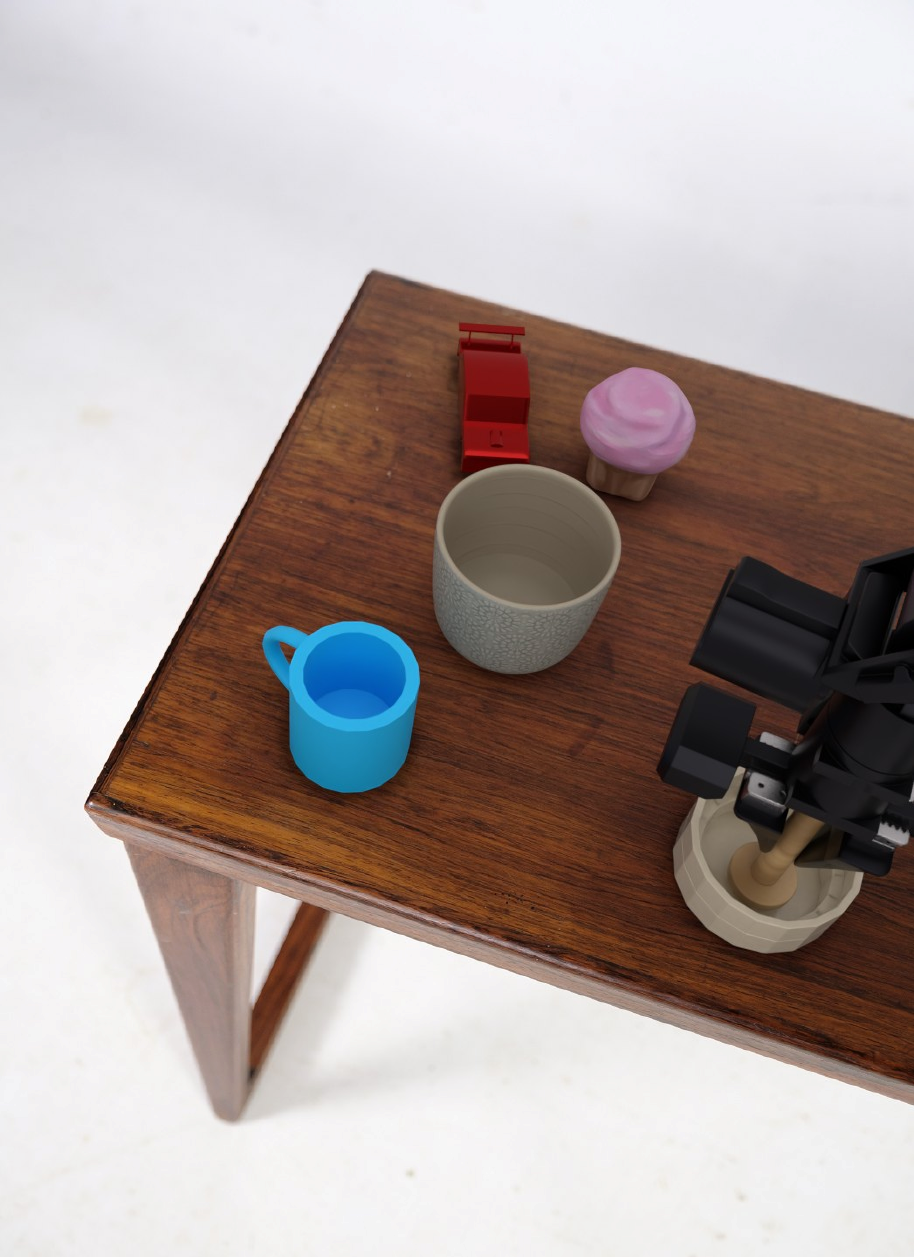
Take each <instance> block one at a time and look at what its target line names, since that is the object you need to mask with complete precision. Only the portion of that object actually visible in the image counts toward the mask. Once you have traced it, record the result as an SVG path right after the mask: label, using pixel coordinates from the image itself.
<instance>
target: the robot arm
mask: <svg viewBox="0 0 914 1257" xmlns="http://www.w3.org/2000/svg"><path fill="white" fill-rule="evenodd" d="M904 594H905V595H904ZM903 596H904V599H903ZM902 600H903V602H902ZM901 603H902V606H901ZM900 606H901V609H900ZM899 610H900V612H899ZM898 614H899V616H898ZM897 616H898V618H897ZM896 620H897V622H896ZM895 623H896V625H895ZM689 658H690V659H689V661H688V665H689V666H691V667H693V668H695V669H698V670H700V671H703V672H705V673H707V674H710V675H712V676H714V677H715V678H716V677H717V678H719V679H721V680H723V681H725V682H728V683H730V684H733V685H734V686H737V687H739V688H741V689H743V690H746V691H748V692H751V693H753V694H754V695H757V696H759V697H762V698H764V699H766V700H768V701H771V702H772V703H774V704H777V705H779V706H781V707H784V708H787V709H788V710H790V711H793V712H796V713H798V714H800V718H799V721H798V725H797V728H796V734H798V735H800V736H803V737H802V738H801V739H800V741H799V742H798V743H795V742H792V741H790V740H787V739H786V738H783V737H780V736H777V735H776V734H773V733H771V732H768V731H763V732H762V733H760V734H758V735H757V736H756V737H755V738H753V737H751V736H749V733H750V730H751V727H752V724H753V721H754V718H755V715H756V711H757V709H758V708H757V707H758V705H757V703H756V702H755V701H753V700H750V699H747V698H745V697H742V696H740V695H737V694H734V693H732V692H730V691H727V690H724V689H722V688H720V687H717V686H715V685H712V684H710V683H707V682H705V681H703V680H699V681H698V682H695V683H692V684H690V685H688V687H687V688H686V690H685V691H684V694H683V696H682V698H681V700H680V702H679V705H678V708H677V710H676V713H675V716H674V719H673V722H672V724H671V727H670V730H669V733H668V735H667V738H666V741H665V743H664V746H663V749H662V751H661V755H660V758H659V759H658V762H657V765H656V768H655V771H656V773H657V775H658V777H659V779H660V780H661V782H662V783H664V784H667V785H670V786H672V787H674V788H677V789H678V790H680V791H684V792H686V793H688V794H691V795H693V796H695V797H697V798H698V797H700V798H703V799H705V800H708V799H723V797H724V796H725V794H726V793H727V791H728V789H729V787H730V785H731V782H732V780H733V778H734V775H735V773H736V771H737V768H738V767H743V768H745V772H744V775H743V778H742V781H741V785H740V788H739V791H738V794H737V797H736V801H735V804H734V807H733V811H734V814H735V816H736V817H737V818H738V819H740V820H742V821H745V822H747V823H748V824H749V826H750V827H751V829H752V830H753V832H754V833H755V835H756V837H757V840H758V844H759V848H760V851H761V852H764V853H767V852H770V851H771V850H772V849H773V847H774V846H775V844H776V843H777V841H778V840H779V838H780V837H781V835H782V833H783V829H784V826H785V822H786V819H787V815H788V812H789V808H790V809H792V810H795V811H797V812H800V813H802V814H804V815H807V816H809V817H812V818H814V819H816V820H819V821H821V822H824V823H825V824H824V825H823V827H822V828H821V829H820V830H819V831H818V833H817V834H816V835H815V836H814V837H813V839H812V840H811V841H810V842H809V843H808V845H807V846H806V847H805V848H804V849H803V851H802V852H801V853H800V854H799V855H798V857H797V858H796V859H795V860H794V865H795V866H797V867H801V868H823V869H837V870H846V871H854V872H863V873H864V874H869V875H871V876H874V877H877V878H883V877H885V876H887V875H888V874H889V873H890V872H891V870H892V864H893V859H894V856H895V852H896V849H897V848H898V847H901V848H904V847H906V846H907V845H908V844H909V842H910V838H913V839H914V545H913V546H910V547H906V548H903V549H899V550H896V551H892V552H889V553H885V554H882V555H878V556H875V557H871V558H868V559H864V560H862V561H860V562H859V564H858V567H857V570H856V573H855V577H854V579H853V581H852V584H851V586H850V587H849V589H848V591H847V592H846V594H845V596H844V597H840V596H838V595H836V594H833V593H831V592H829V591H827V590H824V589H821V588H818V587H817V586H814V585H812V584H809V583H807V582H804V581H802V580H800V579H798V578H795V577H794V576H793V577H792V576H790V575H788V574H786V573H784V572H782V571H780V570H778V569H777V568H776V567H774V566H772V565H771V564H770V563H769V564H768V563H767V562H765V561H762V560H759V559H757V558H755V557H752V556H750V555H745V556H742V558H741V559H740V561H738V562H737V564H736V566H735V568H732V567H730V569H729V571H728V573H727V575H726V577H725V580H724V582H723V584H722V586H721V588H720V590H719V592H718V594H717V596H716V599H715V601H714V603H713V606H712V608H711V610H710V612H709V614H708V617H707V619H706V621H705V623H704V625H703V627H702V629H701V633H700V634H699V637H698V639H697V641H696V644H695V646H694V648H693V651H692V653H691V656H690V657H689Z"/></svg>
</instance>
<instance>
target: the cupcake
mask: <svg viewBox="0 0 914 1257" xmlns="http://www.w3.org/2000/svg"><path fill="white" fill-rule="evenodd" d="M579 427H580V432H581V435H582V437H583V439H584V442H585V443H586V445H587V446H588V448H589V449H590V450H589V458H588V462H587V467H586V472H585V479H586V481H587V483H588V484H589V485H590V487H591V488H592V489H594V490H596V491H600V492H603V493H607V494H610V495H612V496H613V495H614V496H618V497H622V498H625V499H628V500H631V501H634V502H635V501H636V502H637V501H638V502H640V501H643V500H645V499H646V497H647V496H648V494H649V493H650V491H651V490H652V487H653V486H654V485H655V482H656V480H657V477H658V475H659V474H660V473H662V472H665V471H666V470H668V469H670V468H671V467H673V466H675V465H676V464H678V463H679V462H680V461H681V460H683V458H685V456H686V454H687V453H688V451H689V449H690V447H691V444H692V442H693V441H694V436H695V435H694V434H695V432H696V427H697V426H696V417H695V414H694V411H693V408H692V405H691V403H690V401H689V400H688V398H687V397H686V395H685V394H684V392H683V391H682V389H681V388H680V387H679V386H678V384H676V383H675V381H673V380H672V379H671V378H669V377H668V376H667V375H665V374H663V373H661V372H658V371H656V370H653V369H649V368H643V367H637V366H633V367H629V368H626V369H624V370H622V371H620V372H618V373H615V374H612V375H610V376H608V377H607V378H606V379H604V380H603V381H601V382H600V383H598V384H597V385H595V386H594V387H593V388H592V389H590V390H589V392H588V393H587V394H586V396H585V397H584V399H583V403H582V406H581V409H580V419H579Z"/></svg>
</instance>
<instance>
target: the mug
mask: <svg viewBox="0 0 914 1257" xmlns="http://www.w3.org/2000/svg"><path fill="white" fill-rule="evenodd" d="M280 642H282V643H285V644H286V645H288V646H290V647H292V648H294V649H295V650H294V654H293V656H292V659H291V661H290V662H289V661H288V660H287V658H286V656H285V653H284V652H283V650H282V648H281V643H280ZM262 649H263V652H264V657H265V659H266V661H267V662H268V665H269V667H270V668H271V670H272V672H273V673H274V674H275V676H276V677H277V679H278V680H279V681H280V683H281V684H282V685H283V686H284V687H285V689H287V691H288V692H289V750H290V752H291V755H292V758H293V760H294V764H295V765H296V766H297V767H298V769H299V770H300V771H301V772H302V774H303V775H304V776H305V777H306V778H307V779H308V780H310V781H312V782H313V783H314V784H317V785H318V786H320V787H322V788H323V789H326V790H330V791H334V792H338V793H343V794H344V793H363V792H366V791H369V790H372V789H375V788H378V787H381V786H383V785H384V784H385V783H386V782H388V781H389V780H390V779H392V778H394V777H395V776H396V775H397V773H398V772H399V770H400V769H401V768H402V766H403V765H404V764H405V762H406V759H407V755H408V752H409V748H410V747H411V746H410V745H411V738H412V733H413V727H414V720H415V715H416V708H417V702H418V696H419V690H420V686H421V685H420V683H421V680H420V668H419V663H418V661H417V660H416V657H415V655H414V652H413V650H412V649H411V647H410V646H409V645H407V643H406V642H405V641H404V640H403V639H402V638H401V637H400V636H399V635H397V634H396V633H394V632H392V631H390V630H389V629H387V628H386V627H383V625H378V624H375V623H369V622H366V621H358V620H357V621H340V622H336V623H333V624H329V625H325V626H323V627H321V628H319V629H318V630H315V631H314V632H313V633H311V634H309V635H308V634H307V633H305V632H303V631H301V630H299V629H298V628H297V629H296V628H294V627H292V626H286V625H276V626H274V627H272V628H269V629H268V630H267V631H266V632H265V633H264V636H263V639H262Z"/></svg>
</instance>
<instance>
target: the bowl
mask: <svg viewBox="0 0 914 1257" xmlns="http://www.w3.org/2000/svg"><path fill="white" fill-rule="evenodd" d="M744 772H745V768H743V767H740V766H738V768H737V771H736V773H735V775H734V778H733V780H732V782H731V785H730V787H729V789H728V791H727V793H726V794H725V796H724V797H723V799H708V800H705V799H703V798H700V797H698V796H697V799H696V800H695V801H694V803H693V805H692V807H691V809H690V810H689V811H688V814H686V816H685V818H684V819H683V821H682V823H681V825H680V827H679V830H678V832H677V836H676V838H675V842H674V845H673V847H672V848H673V849H672V854H673V855H672V856H673V857H672V858H673V872H674V878H675V881H676V883H677V886H678V888H679V890H680V893H681V895H682V897H683V900H684V902H685V904H686V906H687V907H688V908H689V910H690V911H691V912H692V913H693V914H694V916H696V918H697V919H698V920H699V921H700V922H701V924H702V925H703V926H704V927H705V928H706V929H707V930H708V931H710V932H711V933H713V934H715V935H717V936H718V937H719V938H721V939H722V940H724V941H725V942H728V943H729V944H731V945H732V946H735V947H738V948H741V949H746V950H748V951H749V950H750V951H753V952H757V953H760V954H774V953H787V952H794V951H797V950H798V949H800V948H802V947H805V946H806V945H808V944H810V943H812V942H813V941H816V940H818V939H819V938H820V936H822V935H823V934H824V933H825V932H826V930H828V929H829V928H830V927H831V926H832V925H833V924H834V923H835V922H836V921H837V920H838V919H839V918H841V916H842V915H843V914H844V913H845V912H846V910H847V909H848V908H849V906H850V905H851V904H852V902H853V901H854V900H855V899H856V897H857V896H858V895H859V894H860V890H861V886H862V883H863V877H864V874H865V873H863V872H854V871H846V870H837V869H823V868H801V867H797V866H795V865H794V866H795V868H796V871H797V875H798V885H797V889H796V892H795V894H794V895H793V897H792V898H791V899H790V900H789V901H788V902H787V903H786V904H785V905H784V906H782V907H780V908H778V909H774V910H760V909H756V908H753V907H751V906H749V905H747V904H746V903H744V902H743V901H742V900H740V899H739V898H738V897H737V895H736V894H735V893H734V891H733V890H732V888H731V886H730V883H729V880H728V875H727V868H728V863H729V861H730V859H731V857H732V856H733V854H734V853H735V852H736V850H737V849H738V848H740V847H741V846H743V845H744V844H747V843H750V842H758V840H757V837H756V835H755V833H754V832H753V830H752V829H751V827H750V826H749V824H748V823H747V822H745V821H742V820H740V819H738V818H737V817H736V816H735V814H734V811H733V807H734V804H735V801H736V797H737V794H738V791H739V788H740V785H741V781H742V778H743V775H744ZM793 811H794V810H792V809H790V808H789V812H788V815H787V819H788V817H789V816H790V815H791V813H792V812H793ZM787 819H786V820H787ZM793 864H794V861H793Z"/></svg>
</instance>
